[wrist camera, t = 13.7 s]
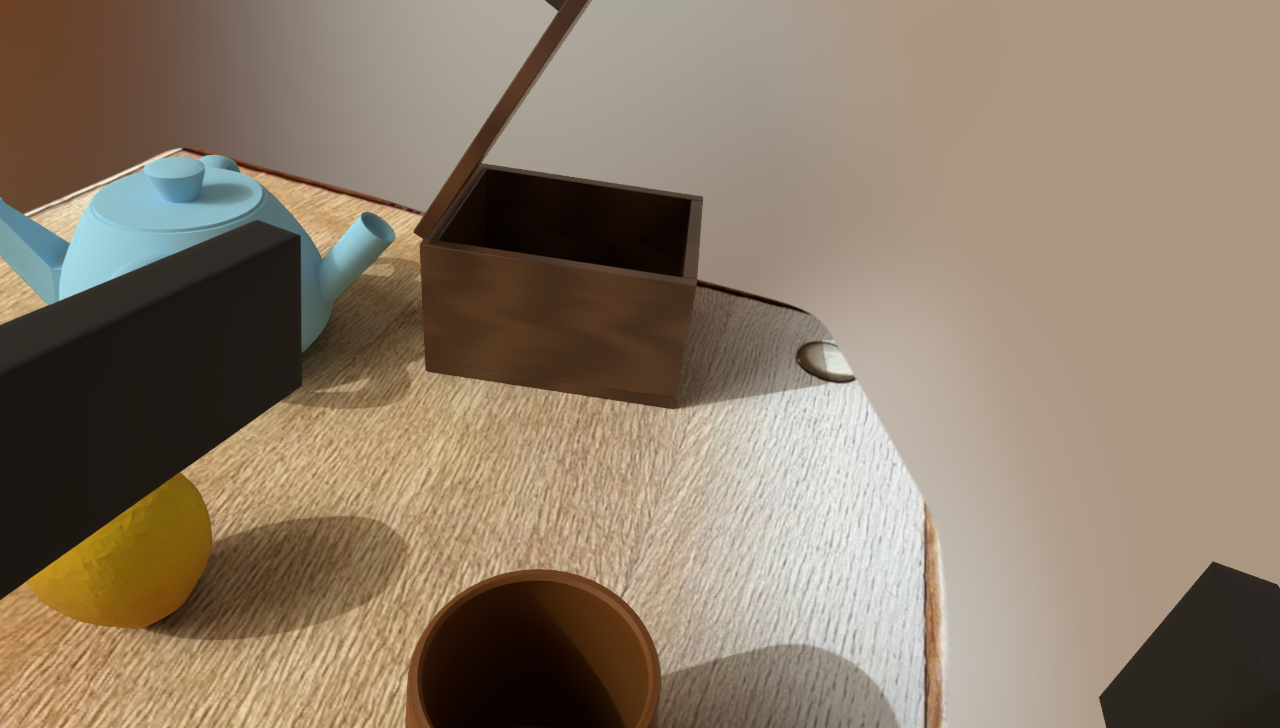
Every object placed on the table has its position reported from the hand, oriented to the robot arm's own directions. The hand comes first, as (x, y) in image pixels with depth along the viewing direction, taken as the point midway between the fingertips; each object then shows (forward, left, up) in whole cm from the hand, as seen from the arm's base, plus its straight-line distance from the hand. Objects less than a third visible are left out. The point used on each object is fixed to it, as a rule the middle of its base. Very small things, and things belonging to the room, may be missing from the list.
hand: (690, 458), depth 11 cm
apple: (+21, -11, -23) cm, 33 cm away
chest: (+7, -36, -23) cm, 43 cm away
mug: (+1, -4, -23) cm, 23 cm away
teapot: (+28, -30, -23) cm, 47 cm away
